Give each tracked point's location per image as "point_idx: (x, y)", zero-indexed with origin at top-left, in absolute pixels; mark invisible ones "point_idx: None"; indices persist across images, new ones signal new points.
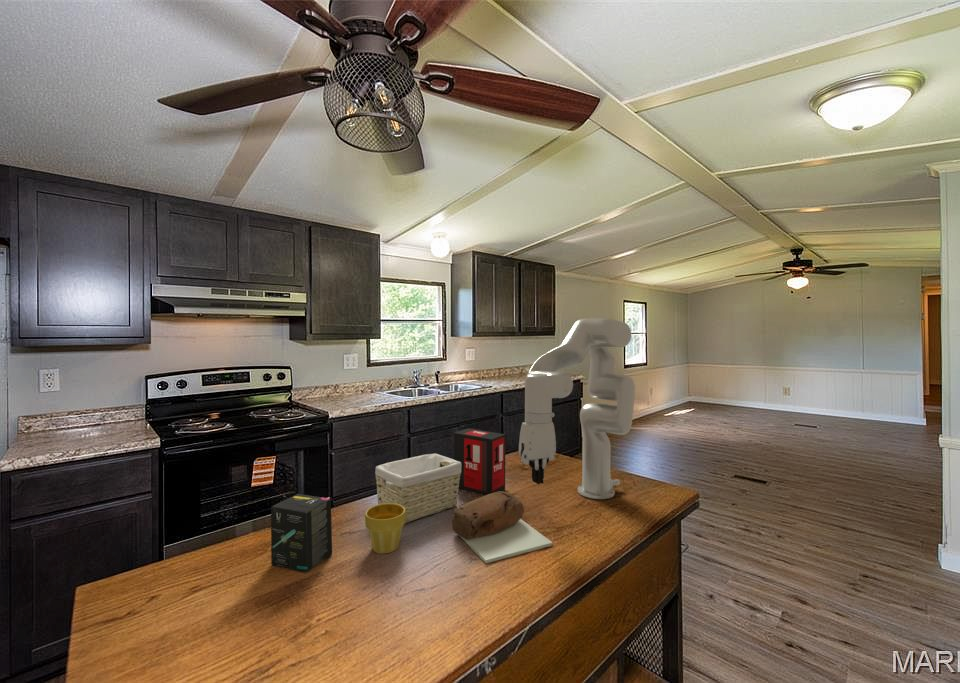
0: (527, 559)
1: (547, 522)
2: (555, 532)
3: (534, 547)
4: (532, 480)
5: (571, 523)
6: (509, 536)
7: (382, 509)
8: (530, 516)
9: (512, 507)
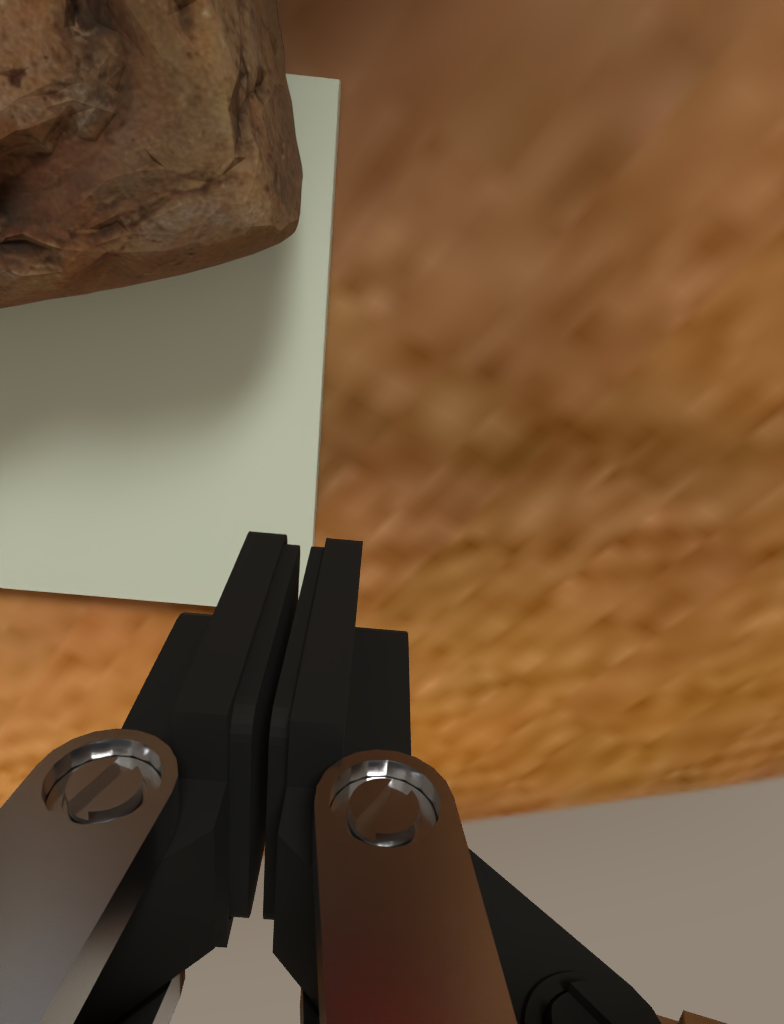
0: (57, 644)
1: (552, 295)
2: (469, 475)
3: (152, 600)
4: (250, 531)
5: (707, 426)
6: (51, 380)
7: None
8: (511, 75)
9: (69, 280)
